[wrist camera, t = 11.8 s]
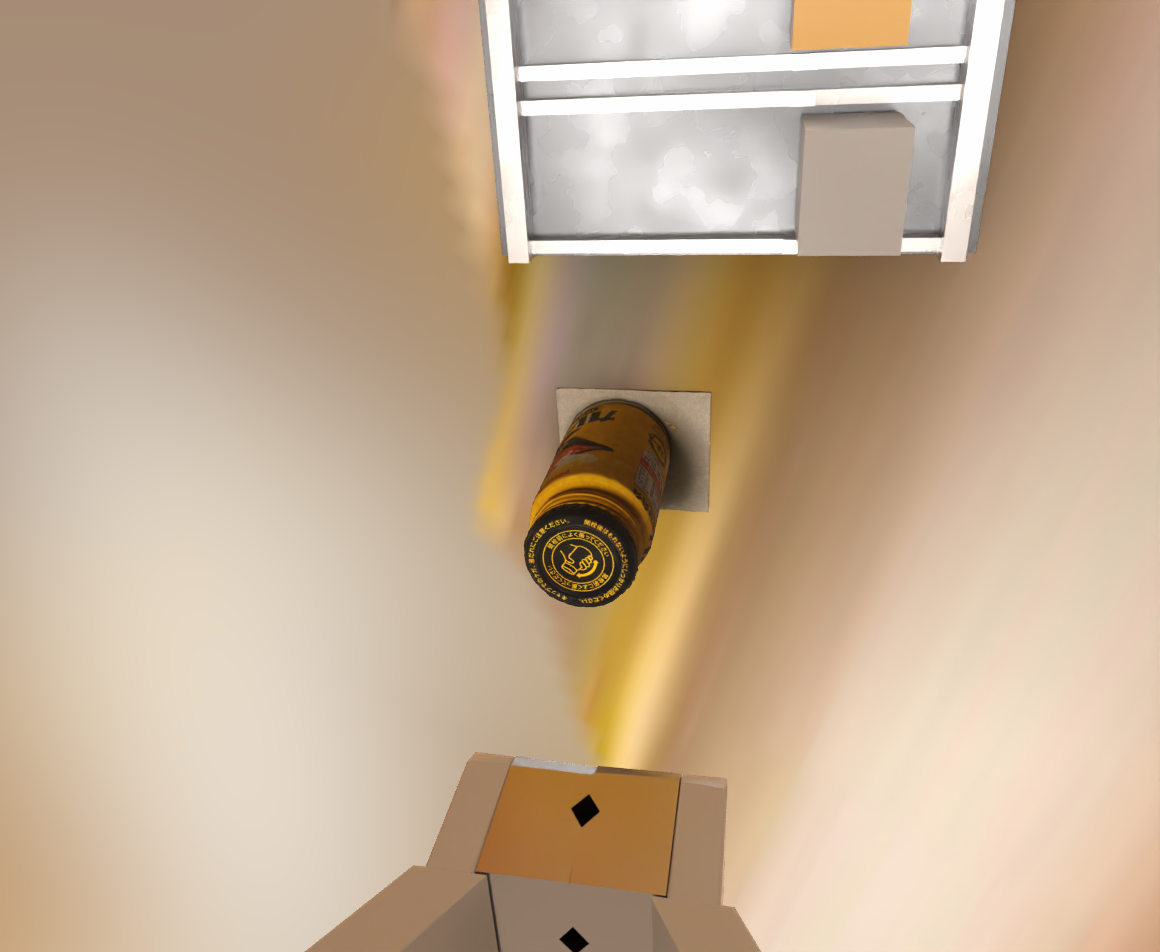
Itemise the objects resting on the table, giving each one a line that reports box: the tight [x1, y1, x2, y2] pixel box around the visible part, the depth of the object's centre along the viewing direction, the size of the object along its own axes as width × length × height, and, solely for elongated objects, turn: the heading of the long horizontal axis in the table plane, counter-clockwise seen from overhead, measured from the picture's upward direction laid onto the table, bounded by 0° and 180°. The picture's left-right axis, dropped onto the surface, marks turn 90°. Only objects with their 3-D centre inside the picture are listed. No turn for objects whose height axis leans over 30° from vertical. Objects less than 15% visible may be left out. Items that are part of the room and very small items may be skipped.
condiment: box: [524, 388, 711, 607], centre depth 45 cm, size 7×8×12 cm
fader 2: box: [795, 111, 916, 256], centre depth 37 cm, size 4×5×5 cm
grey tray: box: [479, 0, 1015, 263], centre depth 39 cm, size 22×15×3 cm
